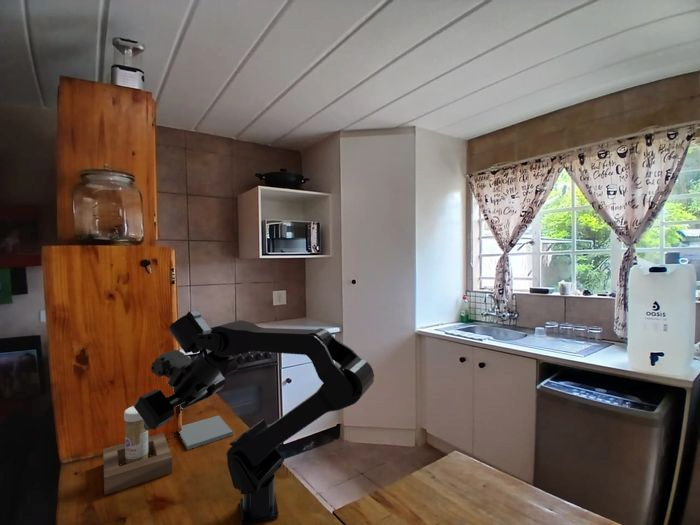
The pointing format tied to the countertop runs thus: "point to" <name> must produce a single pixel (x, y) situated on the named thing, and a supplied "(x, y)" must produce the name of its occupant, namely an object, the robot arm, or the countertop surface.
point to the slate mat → (204, 432)
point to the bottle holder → (136, 465)
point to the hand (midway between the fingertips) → (164, 416)
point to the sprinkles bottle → (135, 436)
